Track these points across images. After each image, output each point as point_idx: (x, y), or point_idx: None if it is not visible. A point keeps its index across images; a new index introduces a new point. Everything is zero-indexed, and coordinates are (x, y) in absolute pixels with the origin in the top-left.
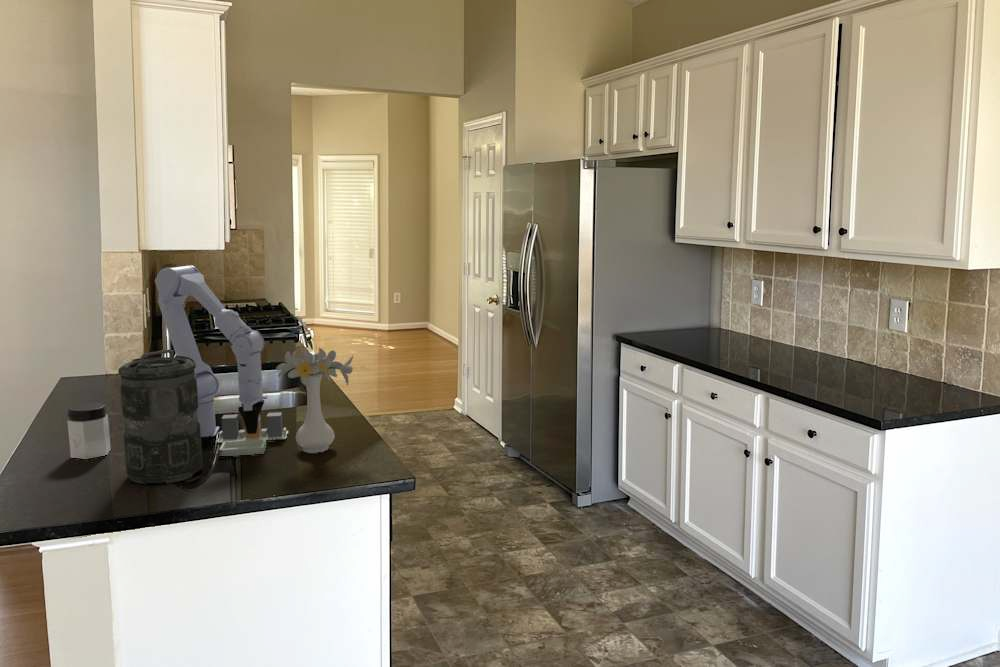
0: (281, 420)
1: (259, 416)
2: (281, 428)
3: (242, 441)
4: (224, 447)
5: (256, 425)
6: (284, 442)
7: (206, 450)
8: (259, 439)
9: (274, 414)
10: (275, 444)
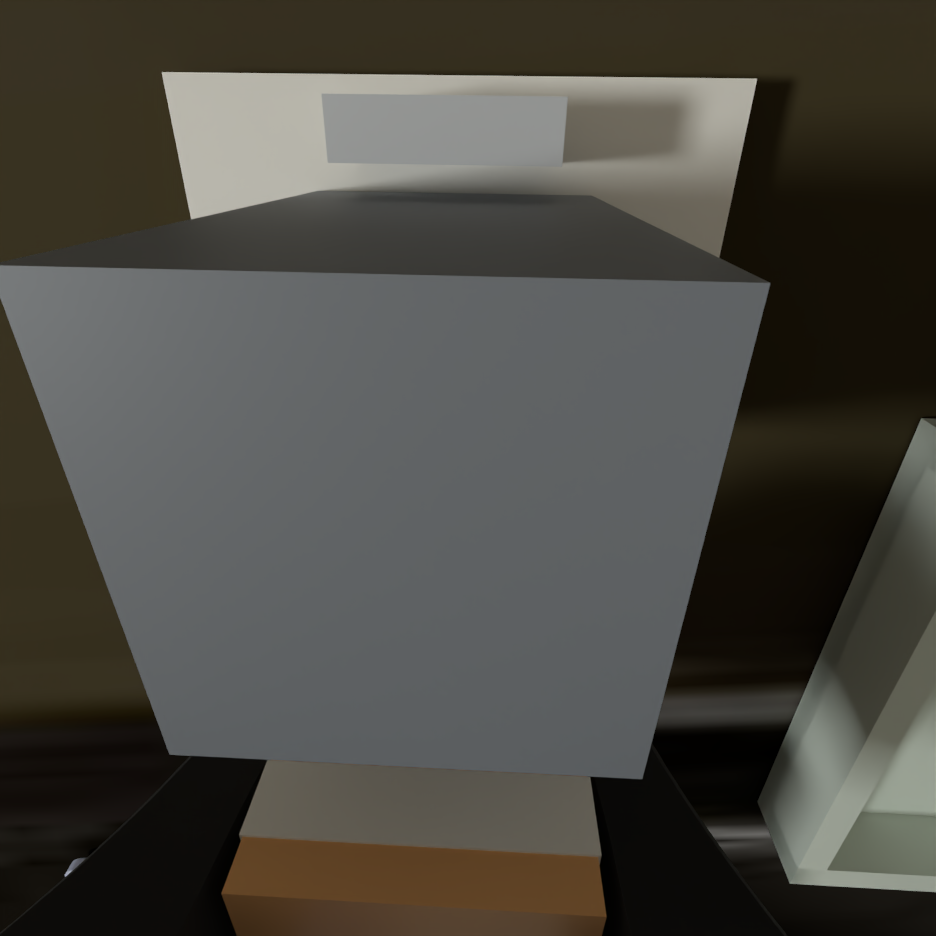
0: (455, 229)
1: (372, 843)
2: (563, 209)
3: (889, 743)
4: (920, 840)
5: (653, 751)
6: (854, 113)
7: (754, 887)
8: None
9: (426, 573)
10: (900, 285)
